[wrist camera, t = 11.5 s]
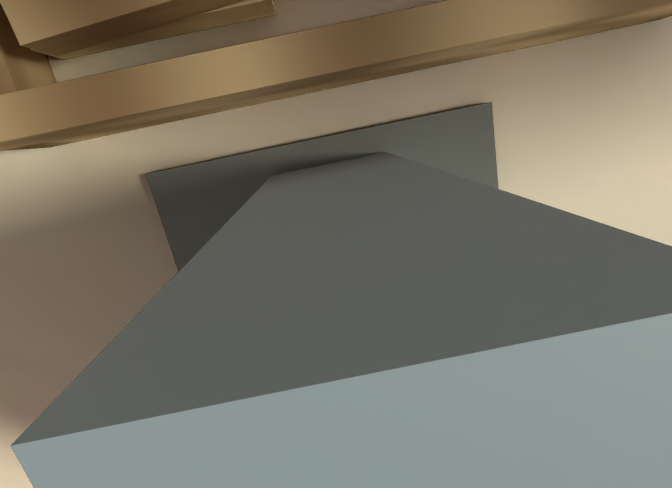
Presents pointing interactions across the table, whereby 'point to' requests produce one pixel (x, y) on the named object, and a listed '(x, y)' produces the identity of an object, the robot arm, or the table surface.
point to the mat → (258, 166)
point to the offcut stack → (119, 21)
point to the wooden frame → (283, 64)
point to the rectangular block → (382, 349)
